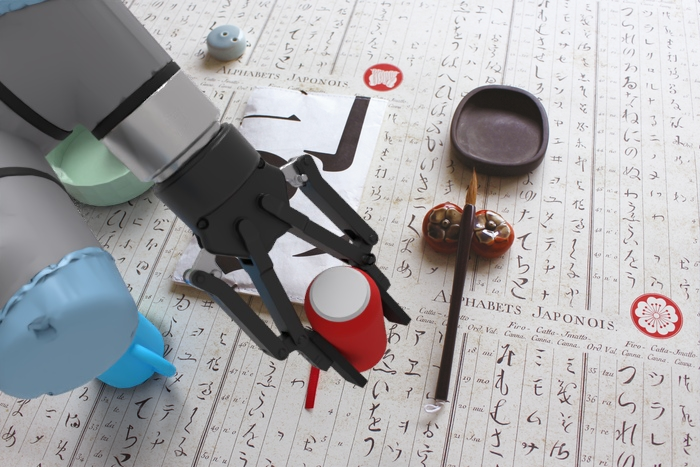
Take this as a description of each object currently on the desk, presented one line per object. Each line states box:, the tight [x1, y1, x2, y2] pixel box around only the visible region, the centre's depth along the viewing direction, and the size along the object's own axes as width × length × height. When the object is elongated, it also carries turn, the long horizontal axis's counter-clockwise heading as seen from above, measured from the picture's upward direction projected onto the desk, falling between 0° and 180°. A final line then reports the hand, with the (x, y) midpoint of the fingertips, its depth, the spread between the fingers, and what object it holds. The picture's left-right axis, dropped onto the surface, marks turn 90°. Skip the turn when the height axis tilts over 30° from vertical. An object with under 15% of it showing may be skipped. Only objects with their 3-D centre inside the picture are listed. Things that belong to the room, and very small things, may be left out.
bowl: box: [46, 102, 156, 207], centre depth 78 cm, size 16×16×5 cm
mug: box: [95, 310, 177, 389], centre depth 62 cm, size 12×8×8 cm
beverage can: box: [303, 265, 388, 373], centre depth 48 cm, size 6×6×12 cm
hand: (378, 349), depth 49 cm, fingers closed on beverage can, 6 cm apart
